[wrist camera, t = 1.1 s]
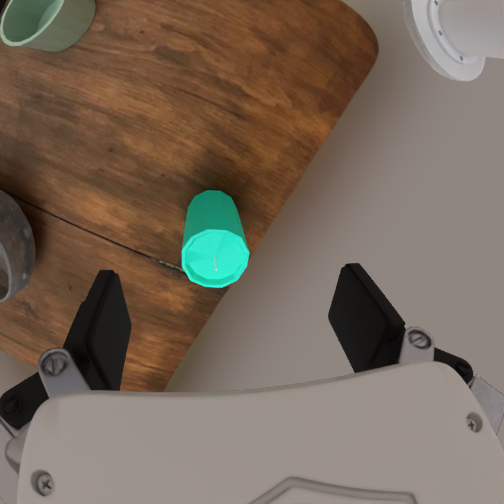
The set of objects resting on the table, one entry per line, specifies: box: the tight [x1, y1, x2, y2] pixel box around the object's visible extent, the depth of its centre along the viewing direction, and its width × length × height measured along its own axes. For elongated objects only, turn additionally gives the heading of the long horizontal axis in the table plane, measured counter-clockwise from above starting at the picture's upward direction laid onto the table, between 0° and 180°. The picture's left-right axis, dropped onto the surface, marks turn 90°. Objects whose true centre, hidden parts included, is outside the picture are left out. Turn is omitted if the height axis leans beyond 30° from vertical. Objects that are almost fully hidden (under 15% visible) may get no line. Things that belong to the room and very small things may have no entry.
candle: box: [182, 190, 249, 287], centre depth 28 cm, size 6×6×12 cm
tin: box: [0, 0, 96, 52], centre depth 14 cm, size 8×8×8 cm
